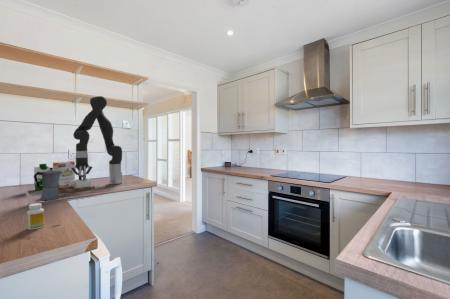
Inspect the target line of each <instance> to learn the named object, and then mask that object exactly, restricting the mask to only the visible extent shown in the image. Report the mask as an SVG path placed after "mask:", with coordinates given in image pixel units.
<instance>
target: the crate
mask: <svg viewBox="0 0 450 299" xmlns="http://www.w3.org/2000/svg"><path fill="white" fill-rule="evenodd" d="M91 185H92V180H91V179H89V178H86V179H85V176H84V175H83V174H81V180H79V179H75V180H74V189H75V188H83V187H90V186H91Z"/></svg>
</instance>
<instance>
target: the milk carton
mask: <svg viewBox="0 0 450 299" xmlns="http://www.w3.org/2000/svg"><path fill="white" fill-rule="evenodd" d="M38 165H39V166H33V170H34V171H33V172H34V173H33V176H34V175H35V174H36V173H37V172H44V171H49V170H50V168H51V166H50V165H47V163H40V164H38ZM36 177H37V180H38V183H39V185H40V186H41V185H42V187H37V185H36V182H35V179H34V178H33V180H34V190H35V191H42V190H43V181H42V175H37V176H36Z"/></svg>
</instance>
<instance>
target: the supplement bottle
mask: <svg viewBox="0 0 450 299" xmlns="http://www.w3.org/2000/svg"><path fill="white" fill-rule="evenodd" d="M28 209H29V210H27V212H26V226H27V227H26V228H27V230H31V231H32V230H38V229H41V228H44V227H45V209H44V208H42V203H40V202H39V203H31V204H29V205H28Z"/></svg>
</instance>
